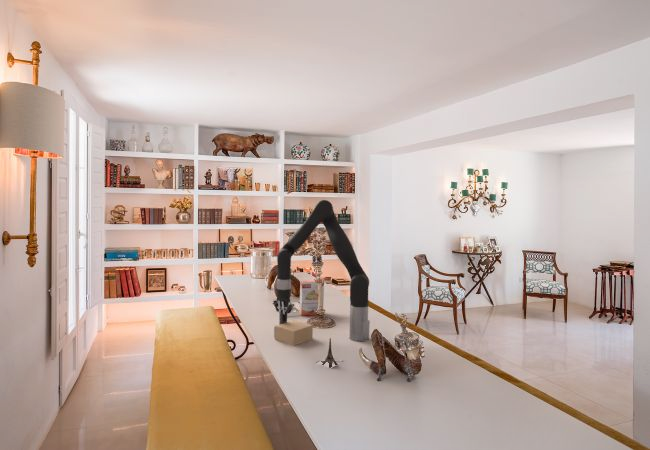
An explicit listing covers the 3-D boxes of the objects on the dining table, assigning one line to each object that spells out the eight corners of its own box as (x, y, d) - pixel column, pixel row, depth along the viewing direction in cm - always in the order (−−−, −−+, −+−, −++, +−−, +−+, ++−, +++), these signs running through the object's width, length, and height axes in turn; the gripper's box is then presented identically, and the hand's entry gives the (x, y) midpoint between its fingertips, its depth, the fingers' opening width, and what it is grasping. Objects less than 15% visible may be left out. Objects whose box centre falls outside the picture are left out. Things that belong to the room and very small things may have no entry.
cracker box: (301, 316, 258) (301, 282, 257) (299, 313, 264) (299, 280, 263) (323, 315, 262) (324, 281, 261) (321, 312, 268) (321, 279, 267)
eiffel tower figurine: (345, 361, 189) (346, 331, 188) (348, 370, 179) (349, 339, 178) (311, 361, 188) (312, 331, 187) (313, 370, 177) (313, 339, 177)
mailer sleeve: (312, 338, 217) (312, 325, 216) (293, 345, 206) (293, 331, 206) (294, 333, 225) (294, 320, 225) (274, 339, 214) (275, 325, 214)
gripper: (298, 288, 217) (297, 321, 218) (279, 284, 226) (279, 316, 227) (288, 290, 212) (287, 324, 213) (269, 286, 220) (268, 319, 221)
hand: (283, 320), depth 220 cm, fingers closed
